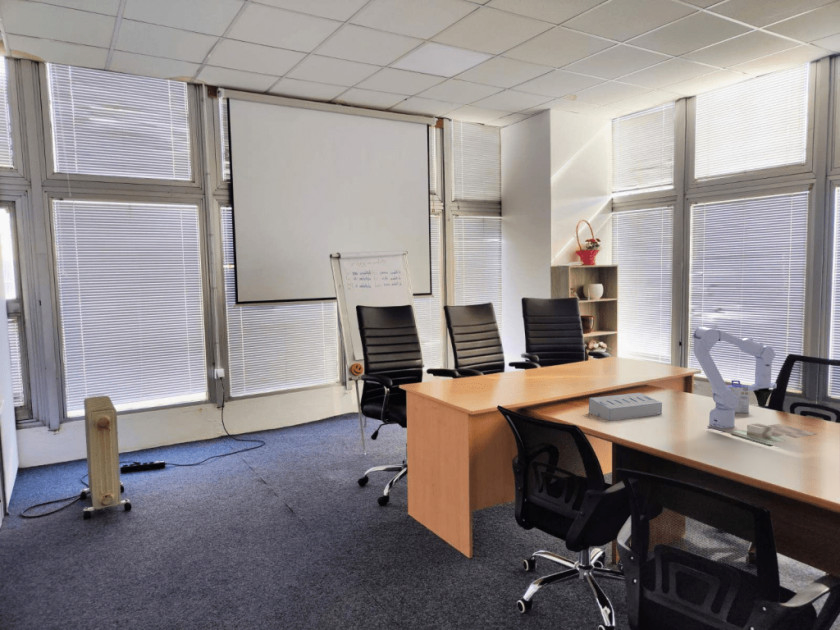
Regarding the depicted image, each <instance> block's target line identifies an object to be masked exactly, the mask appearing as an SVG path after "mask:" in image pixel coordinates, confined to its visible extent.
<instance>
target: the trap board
mask: <svg viewBox="0 0 840 630" xmlns="http://www.w3.org/2000/svg"><path fill="white" fill-rule="evenodd" d="M767 426H771V427H772V437H768V438H762V439H760V438H757V437H753V436H750V435H747V428H746V429H739V430H733V431H732V430H731V432H732V433H731V436H733V437H736V438H740V439H744V440H747V441H750V442H754V443H756V444H759V445H764V446H767V447H774V445H772V444H770V443H775V442H781V441H786V439H784V438H781V437H780V436H787V437H791V438H796V439H799V438H803V437H804V438H805V437H808V436H809V437H810V436H815V435H818V433H816V432H812V431H807V430H804V429H800V428H796V427H792V426H789V425H784V424H781V423H775V424H774V423H773V424H768V425H767ZM738 434H739V435H738Z"/></svg>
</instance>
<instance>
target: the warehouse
mask: <svg viewBox="0 0 840 630" xmlns="http://www.w3.org/2000/svg"><path fill="white" fill-rule="evenodd" d="M662 404H663V402H661V401H659V400H656V399H655V398H652V397H650V396H648V395H646V394H644V393H641V392H633V393H632V392H631V393H624V394H614V395H613V394H612V395H604V396H597V397H595V396H593V397H589V398H588V414H590V415H593V416H596V417H599V418H602V419H604V420H607V421H609V422H610V421H617V420H618V421H619V420H626V419H632V418H641V417H647V416H649V417H650V416H655V415H656V416H657V415H662V413H663V412H662V411H663V405H662Z"/></svg>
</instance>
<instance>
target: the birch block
mask: <svg viewBox="0 0 840 630" xmlns="http://www.w3.org/2000/svg"><path fill="white" fill-rule="evenodd" d="M746 429H747V435H750V436H753V437H757V438H760V439H762V438H768V437H772V427H771V426H768V425H767V424H762V423H759V422H756V423H755V422H754V423H750V424H746Z"/></svg>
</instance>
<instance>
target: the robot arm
mask: <svg viewBox="0 0 840 630" xmlns="http://www.w3.org/2000/svg"><path fill="white" fill-rule="evenodd" d="M692 339H693V353H694V355H695V358H696V360H697V362H698V363H699V365H700V367H701V369H702V371H703V373H704V374H705V377H706V379H707V381H708V382H709V384H710V386H711V393H712V400H713V401H714V403H715V407H714V408H713V409H711V410H710V412H709V420H708V421H709V424H708V425H707V428H710V429H712V430H715V431H716V430H717V431H720V432H722V433H723V432H724V433H725V432H726V431H725V430H723V429H726V428H734V427H735V420H736V419H735V418H736V412H735V408H736V407H737V406H738V404H739V399H738V397H737V396H736V395H734V394H733V392H732V391H731V389H730V388H729V387H728V386H727V385H728V384H726V382H725V380H724V379H723V377H722V375H721V373H720V371H719V369H718V367H717V365H716V362H715V361H714V359H713V358H712V356H711V353H710V352H711V349H712V348H713V347H714V346H715V345H716V344H717V343H718V342H722V341H723V342H725V343H727V344H732V345H734V346H736V347H737V348H738V350H739V351H740V352H743V353H745V354H748V355H750V356H753V357H754V358H755V371H754V383H752V384H751V385H747V386H748V390H749V392H750V391H751V392H753V393H754V395H755V397H756V400H757V404H758V407H762V408H765V407H766V405H767V403H768V399H769V397H770V396H771V394H772V393H773V390H772V389H777V384H778V383H775V382H772V369H773V368H772V366H773V365H772V364H773V361H774V359H775V357H776V353H775V350H774V349H773V348H772V347H771V346H767V345H764V343H762V342H758V341H755V340H754V338H752V337H748V338H747V337H744V338H740V337H737V336H735V335H732V334H730V333H729V332H726V331H724V330H720V329H715V328H712V327H711V328H710V327H706V326H699V327H696V328H695V330H694V332H693V334H692ZM718 428H719V429H718Z"/></svg>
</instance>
